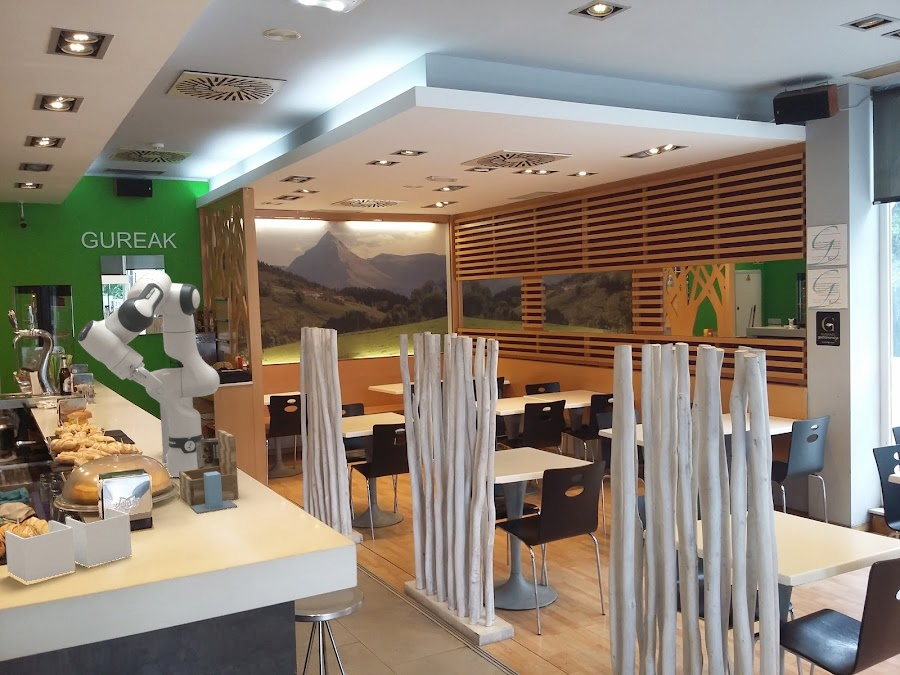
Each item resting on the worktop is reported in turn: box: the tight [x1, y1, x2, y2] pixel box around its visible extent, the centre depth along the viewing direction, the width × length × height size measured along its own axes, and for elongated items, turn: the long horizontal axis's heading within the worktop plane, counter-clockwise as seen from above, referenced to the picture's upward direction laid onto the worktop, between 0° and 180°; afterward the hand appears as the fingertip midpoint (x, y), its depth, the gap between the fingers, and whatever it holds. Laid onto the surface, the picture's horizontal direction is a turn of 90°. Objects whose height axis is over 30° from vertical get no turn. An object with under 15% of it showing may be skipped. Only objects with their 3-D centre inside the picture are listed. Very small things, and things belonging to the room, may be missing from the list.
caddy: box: [178, 429, 239, 507], centre depth 259 cm, size 16×14×20 cm
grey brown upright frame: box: [196, 437, 219, 469], centre depth 274 cm, size 9×6×16 cm
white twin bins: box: [4, 507, 133, 582], centre depth 197 cm, size 25×11×11 cm, turn 139°
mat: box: [190, 500, 238, 515], centre depth 247 cm, size 9×12×1 cm
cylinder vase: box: [159, 397, 194, 457], centre depth 327 cm, size 12×12×25 cm
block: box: [204, 471, 223, 509], centre depth 247 cm, size 5×4×10 cm
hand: (164, 394), depth 245 cm, fingers open, 8 cm apart
